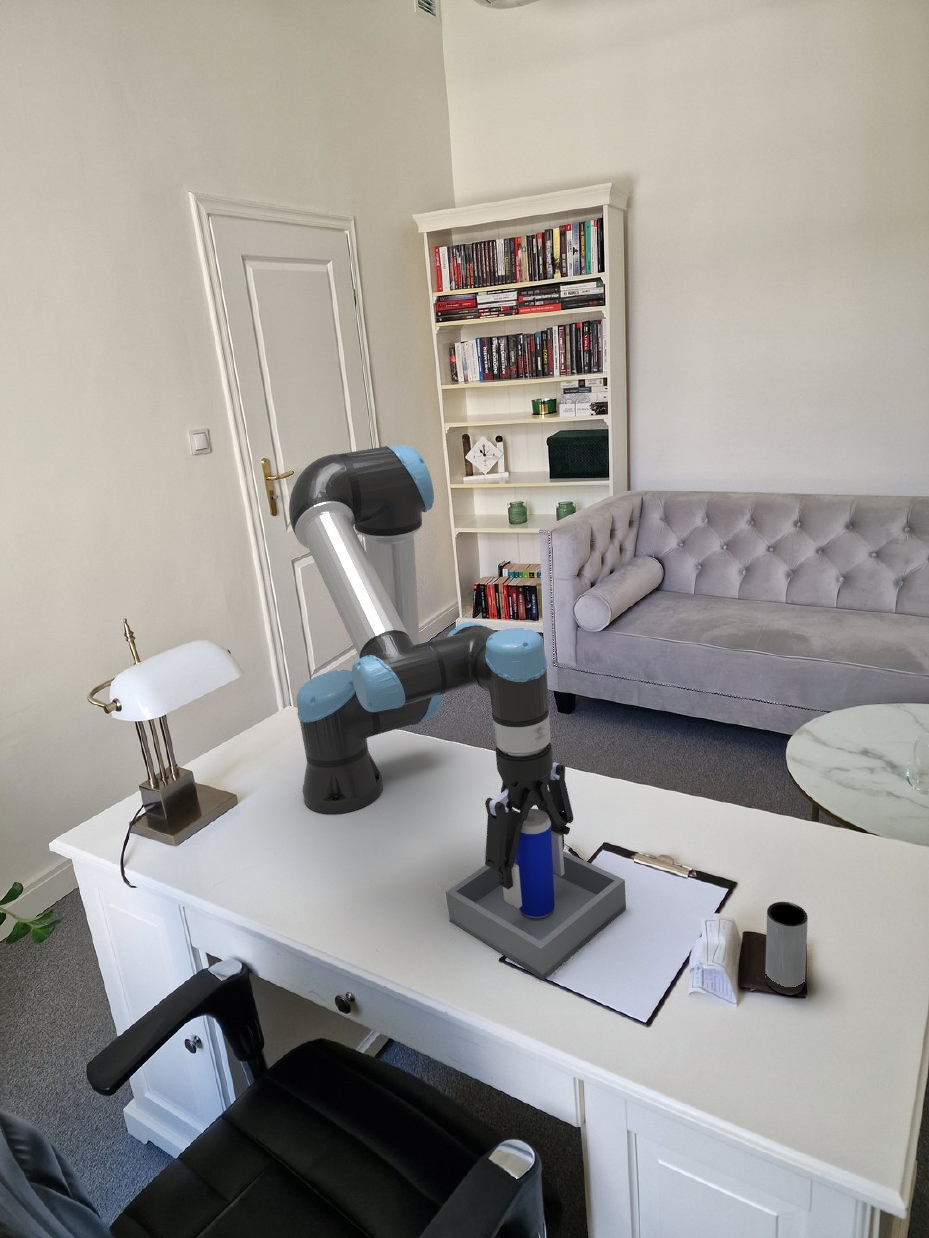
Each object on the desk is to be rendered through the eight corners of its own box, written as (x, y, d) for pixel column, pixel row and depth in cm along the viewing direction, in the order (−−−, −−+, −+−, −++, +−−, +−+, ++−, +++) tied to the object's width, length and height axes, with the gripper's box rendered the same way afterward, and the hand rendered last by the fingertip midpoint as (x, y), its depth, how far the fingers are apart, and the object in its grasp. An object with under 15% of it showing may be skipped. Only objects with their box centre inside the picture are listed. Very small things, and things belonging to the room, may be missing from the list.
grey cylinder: (758, 984, 100) (760, 915, 97) (775, 963, 103) (777, 896, 100) (794, 1002, 97) (797, 931, 94) (811, 980, 100) (814, 911, 97)
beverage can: (557, 899, 118) (553, 809, 113) (551, 922, 113) (547, 829, 108) (522, 895, 119) (517, 806, 114) (515, 918, 114) (509, 825, 110)
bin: (449, 920, 117) (445, 891, 115) (532, 862, 128) (529, 834, 127) (543, 980, 104) (541, 948, 103) (626, 909, 116) (624, 879, 114)
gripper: (487, 785, 98) (502, 938, 105) (594, 722, 112) (601, 861, 119) (445, 767, 104) (463, 914, 111) (553, 709, 117) (562, 843, 124)
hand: (534, 886), depth 115 cm, fingers open, 8 cm apart
